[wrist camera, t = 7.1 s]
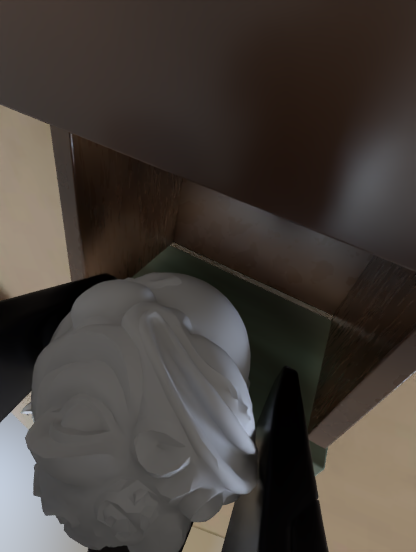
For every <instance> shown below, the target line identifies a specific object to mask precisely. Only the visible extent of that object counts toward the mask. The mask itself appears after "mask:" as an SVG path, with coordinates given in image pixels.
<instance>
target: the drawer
mask: <svg viewBox="0 0 416 552" xmlns="http://www.w3.org/2000/svg"><path fill="white" fill-rule="evenodd" d="M50 129H51V136H52V143H53V150H54V158H55V165H56V172H57V179H58V187H59V194H60V201H61V208H62V216H63V223H64V230H65V237H66V245H67V252H68V259H69V266H70V274H71V281H72V282H73V281H77V280H80V279H84V278H88V277H92V276H95V275H99V274H103V273H109V274H111V275H112V276H114V277H116V278H117V280H118V279H121V280H124V279H126V278H128V277H129V278H134V279H135V278H138V277H141V276H144V275H146V274H149V273H152V272H155V273H179V274H185V275H189V276H192V277H195V278H198V279H200V280H203V281H205V282H207V283H208V284H210V285H212V286H213V287H215V288H216V289H217V290H219V291H220V292H221V293H222V294H223V295H224V296H225V297H226V298H227V299H228V300H229V301H230V302H231V304H232V305H233V306H234V308H235V309H236V310H237V312H238V313H239V315H240V317H241V319H242V321H243V323H244V326H245V328H246V331H247V335H248V339H249V345H250V353H251V357H250V372H249V377H248V379H249V381H250V387H249V391H248V392H249V395H250V399H251V402H252V413H253V417H254V422H255V427H256V424H257V422H258V419H259V417H260V414H261V412H262V410H263V407H264V405H265V402H266V400H267V397H268V395H269V392H270V390H271V388H272V385H273V383H274V381H275V379H276V377H277V376H278V374H279V373H280V371H281V369H282V368H283V366H285V365H286V366H289V367H291V368H292V369H294V370H296V371H297V372H298V377H299V383H300V389H301V395H302V401H303V407H304V413H305V419H306V425H307V431H308V437H309V443H310V449H311V455H312V461H313V467H314V473H315V476H316V475H317V474H319V473H320V472H321V471H322V470H324V468H325V462H326V456H327V450H328V446H329V445H331V444H332V443H333V442H334V441H335V440H336V439H338V438H339V437H340V436H341V435H342V434H343V433H345V432H346V431H347V430H348V429H349V428H350V427H352V426H353V425H354V424H355V423H356V422H358V421H359V420H360V419H361V418H362V417H363V416H365V415H366V414H367V413H368V412H369V411H370V410H372V409H373V408H374V407H375V406H376V405H377V404H379V403H380V402H381V401H382V400H383V399H384V398H386V397H387V396H388V395H389V394H390V393H391V392H393V391H394V390H395V389H396V388H397V387H398V386H400V385H401V384H402V383H403V382H404V381H405V380H407V379H408V378H409V377H410V376H411V375H412V374H414V373H415V372H416V272H415V271H412V270H410V269H407V268H405V267H402V266H400V265H397V264H395V263H392V262H390V261H388V260H385V259H383V258H380V257H378V256H375V255H373V254H370V253H368V252H365V251H363V250H360V249H358V248H355V247H353V246H350V245H348V244H345V243H343V242H340V241H338V240H335V239H333V238H330V237H328V236H325V235H323V234H321V233H318V232H316V231H313V230H311V229H308V228H306V227H303V226H301V225H298V224H296V223H293V222H291V221H288V220H286V219H283V218H281V217H278V216H276V215H273V214H271V213H268V212H266V211H263V210H261V209H258V208H256V207H253V206H251V205H249V204H246V203H244V202H241V201H239V200H236V199H234V198H231V197H229V196H226V195H224V194H221V193H219V192H216V191H214V190H211V189H209V188H206V187H204V186H201V185H199V184H196V183H194V182H191V181H189V180H186V179H184V178H181V177H179V176H177V175H174V174H172V173H169V172H167V171H164V170H162V169H159V168H157V167H154V166H152V165H149V164H147V163H144V162H142V161H139V160H137V159H134V158H132V157H129V156H127V155H124V154H122V153H119V152H117V151H114V150H112V149H110V148H107V147H105V146H102V145H100V144H97V143H95V142H92V141H90V140H87V139H85V138H82V137H80V136H77V135H75V134H72V133H70V132H67V131H65V130H62V129H60V128H57V127H55V126H52V125H50ZM173 242H175V243H177V244H179V245H181V246H183V247H186V248H188V249H190V250H192V251H194V252H196V253H199V254H201V255H203V256H205V257H207V258H209V259H212V260H214V261H216V262H218V263H220V264H222V265H225V266H227V267H229V268H231V269H233V270H235V271H238V272H240V273H242V274H244V275H246V276H248V277H251V278H253V279H255V280H257V281H259V282H261V283H264V284H266V285H268V286H270V287H272V288H274V289H277V290H279V291H281V292H283V293H285V294H287V295H290V296H292V297H294V298H296V299H298V300H300V301H303V302H305V303H307V304H309V305H311V306H313V307H316V308H318V309H320V310H322V311H324V312H326V313H329V314H331V315H333V317H332V320H329V319H327V318H325V317H323V316H321V315H319V314H317V313H314V312H312V311H310V310H308V309H306V308H304V307H301V306H299V305H297V304H295V303H293V302H291V301H289V300H286V299H284V298H282V297H280V296H278V295H276V294H274V293H271V292H269V291H267V290H265V289H263V288H261V287H259V286H256V285H254V284H252V283H250V282H248V281H246V280H243V279H241V278H239V277H237V276H235V275H233V274H231V273H228V272H226V271H224V270H222V269H220V268H218V267H216V266H213V265H211V264H209V263H207V262H205V261H203V260H201V259H198V258H196V257H194V256H192V255H190V254H188V253H186V252H183V251H181V250H179V249H177V248H175V247H173V246H170V245H171V244H172V243H173Z"/></svg>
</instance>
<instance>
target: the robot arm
mask: <svg viewBox="0 0 416 552" xmlns="http://www.w3.org/2000/svg"><path fill="white" fill-rule="evenodd" d="M111 280H117V278H116V277H114V276H112V275H111V274H109V273H103V274H99V275H95V276H92V277H88V278H84V279H80V280H77V281H73V282H69V283H66V284H62V285H58V286H55V287H51V288H47V289H43V290H40V291H36V292H32V293H29V294H25V295H21V296H18V297H14V298H10V299H6V300H3V301H0V422H1V421H2V420H3V419H4V418H5V417H6V416H7V415H8V414H9V413H10V412H11V411H12V410H13V409H14V408H15V407H16V406H17V405H18V404H19V403H20V402H21V401H22V400H23V399H24V398H25V397H26V396H27V395H28V394H29V393H30V392H31V391H32V387H31V386H32V382H33V381H32V378H33V371H34V365H35V363H36V360H37V358H38V356H39V354H40V353H41V352H42V351H43V349H44V348H45V347H46V346H48V345H49V344H50V341H51V339H52V337H53V334H54V333H55V331H56V329H57V328H58V326H59V324H60V323H61V321H62V320H63V319H64V318H65V317H66V316H67V315H68V313H69V312H71V309H72V306H73V304H74V302H75V301H76V299H77V298H78V297H79V296H80V295H81V294H82V293H84V292H85V291H86V290H88V289H90V288H91V287H93V286H94V285H96V284H98V283H101V282H104V281H111ZM255 428H256V439H255V445H256V446H257V448H258V453H259V455H258V461H257V469H258V481H257V484H256V486H255V488H253V489H252V490H251V492H250V493H248V494H240V497H239V498H238V499H237V500H236V501H235V503H234V507H233V511H232V514H231V518H230V522H229V525H228V529H227V533H226V537H225V541H224V544H223V548H222V552H329V551H328V546H327V541H326V536H325V531H324V526H323V521H322V515H321V509H320V503H319V500H317V499H318V491H317V485H316V479H315V473H314V467H313V461H312V455H311V449H310V443H309V437H308V431H307V425H306V419H305V413H304V407H303V401H302V395H301V389H300V383H299V377H298V372H297V371H296V370H294V369H292V368H291V367H289V366H286V365H285V366H283V368H282V369H281V371H280V373H279V374H278V376H277V377H276V379H275V381H274V383H273V385H272V388H271V390H270V392H269V395H268V397H267V400H266V402H265V405H264V407H263V410H262V412H261V414H260V417H259V419H258V422H257V424H256V427H255ZM192 525H193V522H191V525H190V529H189V531H188V533H187V534H186V538H185V542H186V540H187V537H188V535H189V532H190V530H191V527H192ZM185 542H184V543H183V545H182V547H181V549H180V550H179V551H178V552H182V550H183V547H184V545H185ZM87 552H130V551H129V549H128V547H127V546H126V545H123V546H117V547H108V546H105V547H103V548H102V549H101V550H94V549H90V548H88V551H87Z"/></svg>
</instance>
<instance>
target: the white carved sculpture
mask: <svg viewBox="0 0 416 552" xmlns="http://www.w3.org/2000/svg"><path fill="white" fill-rule="evenodd" d="M250 357H251V353H250V345H249V339H248V335H247V331H246V328H245V326H244V323H243V321H242V319H241V317H240V315H239V313H238V312H237V310H236V309H235V308H234V306H233V305H232V304H231V302H230V301H229V300H228V299H227V298H226V297H225V296H224V295H223V294H222V293H221V292H220V291H219V290H217V289H216V288H215V287H213V286H212V285H210V284H208V283H207V282H205V281H203V280H200V279H198V278H195V277H192V276H189V275H185V274H179V273H155V272H152V273H149V274H146V275H144V276H141V277H138V278H135V279H134V278H129V277H128V278H126V279H124V280H121V279H118V280H111V281H104V282H101V283H98V284H96V285H94V286H93V287H91V288H90V289H88V290H86V291H85V292H84V293H82V294H81V295H80V296H79V297H78V298H77V299H76V301H75V302H74V304H73V306H72V309H71V312H69V313H68V315H67V316H66V317H65V318H64V319H63V320H62V321H61V323H60V324H59V326H58V328H57V329H56V331H55V333H54V334H53V337H52V339H51V341H50V344H49V345H48V346H46V347H45V348H44V349H43V351H42V352H41V353H40V354H39V356H38V358H37V360H36V363H35V365H34V371H33V378H32V381H33V382H32V386H31V387H32V394H31V402H32V403H31V410H32V413H33V417H34V421H35V423H34V424H33V425H32V427H31V428H30V429H29V431H28V433H27V435H26V437H25V439H26V443H27V447H28V449H29V450H30V451H31V454H32V456H33V457H34V459H35V461H36V464H35V466H34V470H35V472H34V491H33V492H34V493H33V494H34V495H35V496H38V497H41V502H42V509H43V512H44V514H45V515H46V516H48V515H56V517H57V518H58V520H59V522H60V524H64V531H65V532H66V533H67V535H68V536H69V537H70V538H72V539H73V540H75V541H77V542H78V543H80V544H81V545H83V546H85V547H88V548H90V549H94V550H101V549H102V548H103V547H105V546H108V547H117V546H123V545H126V546H127V547H128V549H129V551H130V552H178V551H179V550H180V549H181V547H182V545H183V543H184V542H185V538H186V534H187V533H188V531H189V529H190V525H191V522H206V521H207V520H209V519H211V518H212V517H213V516H214V515H215V514H216V513H218V512H219V510H220V509H221V507H222V505H227V504H229V503H232V502H234V501H236V500H237V499H238V498H239V497H240V494H248V493H250V492H251V490H252V489H253V488H255V486H256V484H257V481H258V469H257V461H258V455H259V453H258V448H257V446H256V445H255V439H256V428H255V422H254V417H253V413H252V402H251V399H250V395H249V392H248V391H249V387H250V381H249V379H248V377H249V372H250Z"/></svg>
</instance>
